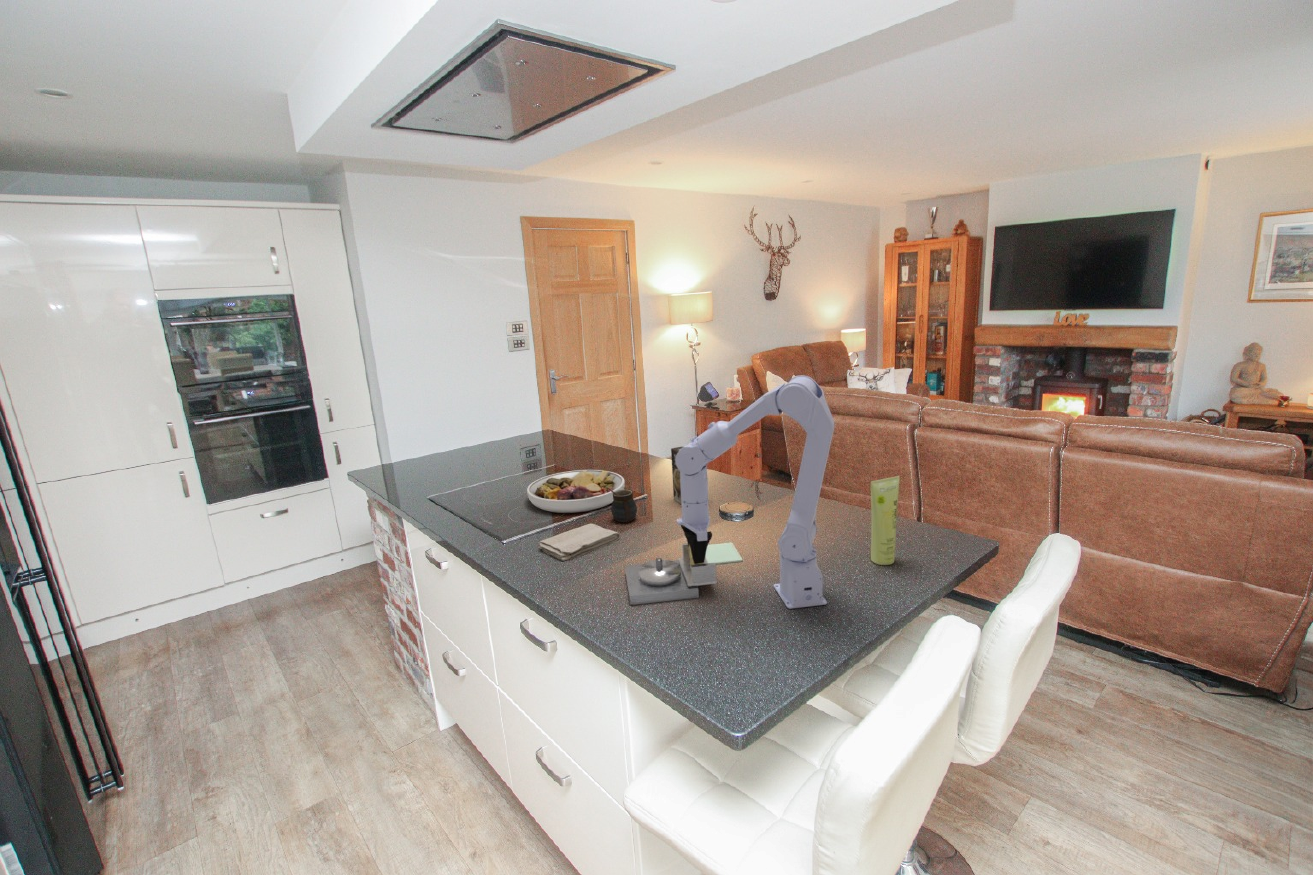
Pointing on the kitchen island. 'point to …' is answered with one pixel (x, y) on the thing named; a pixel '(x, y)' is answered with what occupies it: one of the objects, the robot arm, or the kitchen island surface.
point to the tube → (884, 519)
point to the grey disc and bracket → (677, 571)
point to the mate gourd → (623, 506)
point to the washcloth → (578, 541)
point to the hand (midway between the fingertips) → (697, 558)
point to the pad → (722, 553)
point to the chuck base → (656, 588)
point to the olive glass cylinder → (692, 558)
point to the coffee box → (676, 475)
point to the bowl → (575, 490)
